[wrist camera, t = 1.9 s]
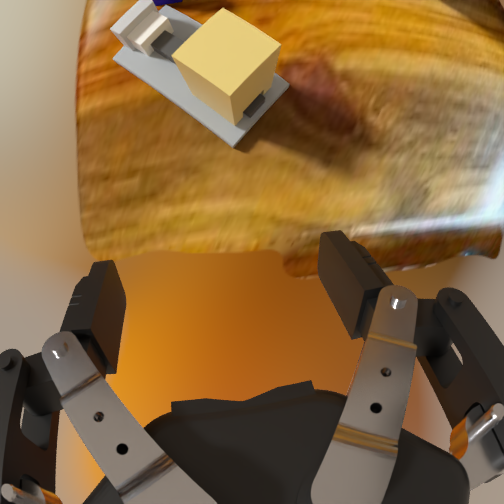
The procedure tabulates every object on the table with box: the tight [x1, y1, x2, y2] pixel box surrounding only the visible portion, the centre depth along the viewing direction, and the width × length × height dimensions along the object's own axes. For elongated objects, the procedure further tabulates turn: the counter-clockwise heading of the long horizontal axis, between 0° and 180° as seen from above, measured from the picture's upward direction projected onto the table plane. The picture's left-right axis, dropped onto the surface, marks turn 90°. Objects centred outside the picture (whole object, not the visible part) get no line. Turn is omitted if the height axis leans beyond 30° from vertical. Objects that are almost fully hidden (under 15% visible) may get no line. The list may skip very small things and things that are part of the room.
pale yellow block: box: [171, 8, 281, 126], centre depth 21 cm, size 5×5×9 cm
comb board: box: [110, 0, 289, 148], centre depth 24 cm, size 8×16×5 cm, turn 50°
